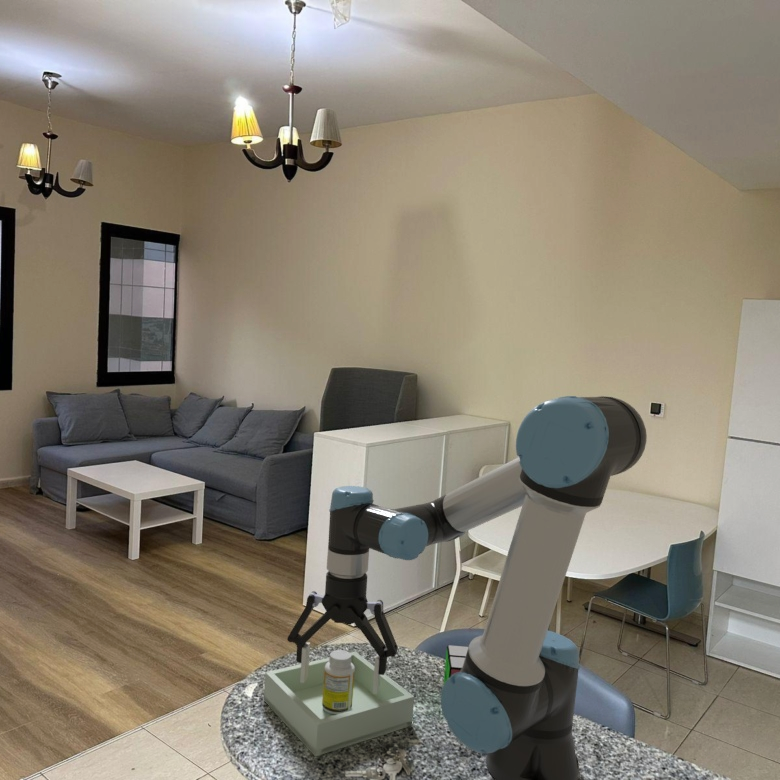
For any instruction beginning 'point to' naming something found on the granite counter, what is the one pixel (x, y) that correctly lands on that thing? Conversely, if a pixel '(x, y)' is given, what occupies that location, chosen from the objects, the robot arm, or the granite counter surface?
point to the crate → (332, 731)
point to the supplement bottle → (338, 683)
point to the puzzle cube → (454, 660)
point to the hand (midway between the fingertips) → (339, 685)
